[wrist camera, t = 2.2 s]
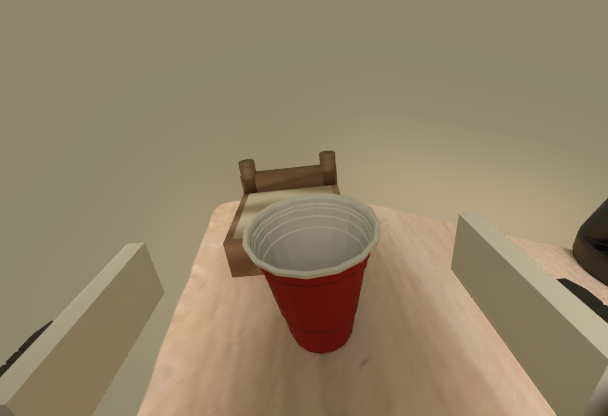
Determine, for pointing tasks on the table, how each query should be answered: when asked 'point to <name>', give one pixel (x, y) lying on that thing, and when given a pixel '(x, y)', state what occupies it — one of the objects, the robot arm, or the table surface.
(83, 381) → the robot arm
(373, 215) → the plastic cup
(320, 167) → the walnut stand
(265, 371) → the table surface
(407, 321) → the table surface
